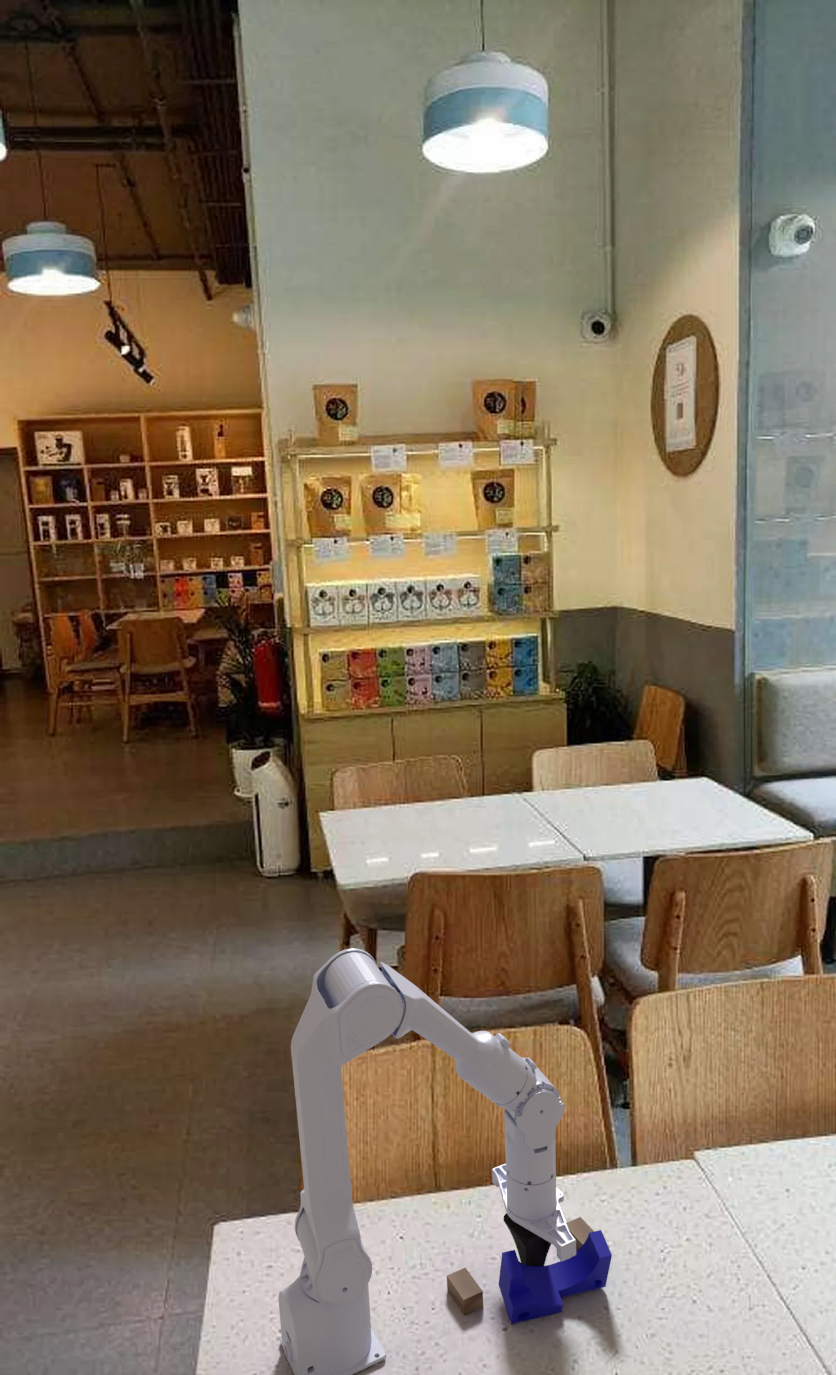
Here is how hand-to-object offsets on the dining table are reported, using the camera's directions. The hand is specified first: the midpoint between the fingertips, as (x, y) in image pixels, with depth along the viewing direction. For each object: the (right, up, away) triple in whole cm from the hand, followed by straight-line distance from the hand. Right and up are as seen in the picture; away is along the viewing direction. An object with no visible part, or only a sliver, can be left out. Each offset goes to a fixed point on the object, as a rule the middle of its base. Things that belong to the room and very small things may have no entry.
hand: (533, 1271), depth 111 cm
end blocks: (-1, -1, +2) cm, 2 cm away
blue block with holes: (+2, -1, -2) cm, 3 cm away
